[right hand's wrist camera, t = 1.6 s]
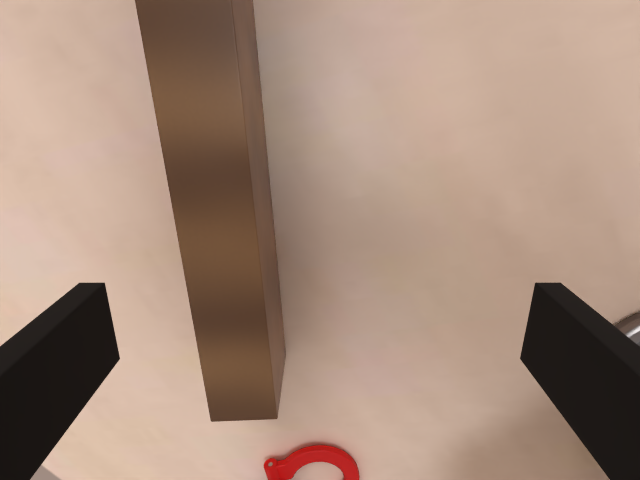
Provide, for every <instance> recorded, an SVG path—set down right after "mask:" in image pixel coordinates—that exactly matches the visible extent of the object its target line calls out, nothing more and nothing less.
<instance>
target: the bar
mask: <svg viewBox="0 0 640 480" xmlns="http://www.w3.org/2000/svg"><path fill="white" fill-rule="evenodd" d="M135 3H136V8H137V14H138V19H139V25H140V30H141V36H142V41H143V47H144V52H145V58H146V64H147V69H148V75H149V80H150V86H151V91H152V97H153V102H154V108H155V113H156V119H157V125H158V130H159V136H160V141H161V147H162V152H163V158H164V163H165V169H166V175H167V180H168V186H169V191H170V197H171V202H172V208H173V213H174V219H175V224H176V230H177V236H178V241H179V247H180V252H181V258H182V263H183V269H184V274H185V280H186V285H187V291H188V297H189V302H190V308H191V313H192V319H193V324H194V330H195V335H196V341H197V346H198V352H199V358H200V363H201V369H202V374H203V380H204V385H205V391H206V396H207V402H208V407H209V413H210V419H211V421H212V422H214V421H239V420H264V419H277V418H278V410H279V403H280V395H281V387H282V380H283V372H284V364H285V357H286V350H285V340H284V329H283V319H282V308H281V297H280V287H279V276H278V265H277V255H276V244H275V234H274V223H273V212H272V202H271V191H270V180H269V170H268V159H267V149H266V138H265V127H264V117H263V106H262V95H261V85H260V74H259V64H258V53H257V42H256V32H255V21H254V10H253V0H135Z"/></svg>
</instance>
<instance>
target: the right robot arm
mask: <svg viewBox="0 0 640 480" xmlns="http://www.w3.org/2000/svg"><path fill="white" fill-rule="evenodd" d="M119 359H120V357H119V352H118V347H117V342H116V337H115V332H114V327H113V322H112V317H111V312H110V307H109V302H108V297H107V292H106V287H105V283H79V284H77V285H76V286H75V287H74V288H72V289H71V290H70V291H69V292H67V293H66V294H65V295H64V296H63V297H61V298H60V299H59V300H58V301H56V302H55V303H54V304H53V305H51V306H50V307H49V308H48V309H46V310H45V311H44V312H43V313H41V314H40V315H39V316H38V317H36V318H35V319H34V320H33V321H31V322H30V323H29V324H28V325H26V326H25V327H24V328H23V329H21V330H20V331H19V332H18V333H16V334H15V335H14V336H13V337H11V338H10V339H9V340H8V341H6V342H5V343H4V344H3V345H1V346H0V480H30V479H31V477H32V476H33V475H34V473H35V472H36V471H37V469H38V468H39V467H40V465H41V464H42V463H43V461H44V460H45V459H46V457H47V456H48V455H49V453H50V452H51V451H52V449H53V448H54V447H55V445H56V444H57V443H58V441H59V440H60V439H61V437H62V436H63V435H64V433H65V432H66V430H67V429H68V428H69V426H70V425H71V424H72V422H73V421H74V420H75V418H76V417H77V416H78V414H79V413H80V412H81V410H82V409H83V408H84V406H85V405H86V404H87V402H88V401H89V400H90V398H91V397H92V396H93V394H94V393H95V391H96V390H97V389H98V387H99V386H100V385H101V383H102V382H103V381H104V379H105V378H106V377H107V375H108V374H109V373H110V371H111V370H112V369H113V367H114V366H115V365H116V363H117V362H118V361H119ZM520 359H521V361H522V362H523V363H524V365H525V366H526V367H527V369H528V370H529V371H530V373H531V374H532V375H533V377H534V378H535V379H536V381H537V382H538V383H539V385H540V386H541V387H542V389H543V390H544V391H545V393H546V394H547V396H548V397H549V398H550V400H551V401H552V402H553V404H554V405H555V406H556V408H557V409H558V410H559V412H560V413H561V414H562V416H563V417H564V418H565V420H566V421H567V422H568V424H569V425H570V426H571V428H572V429H573V430H574V432H575V433H576V435H577V436H578V437H579V439H580V440H581V441H582V443H583V444H584V445H585V447H586V448H587V449H588V451H589V452H590V453H591V455H592V456H593V457H594V459H595V460H596V461H597V463H598V464H599V465H600V467H601V468H602V469H603V471H604V472H605V473H606V475H607V476H608V478H609V479H610V480H640V312H639V313H636V314H634V315H632V316H630V317H628V318H626V319H625V320H623V321H621V322H619V323H618V324H617V325H615V326H614V325H612V324H611V323H610V322H609V321H607V320H606V319H605V318H604V317H602V316H601V315H600V314H599V313H597V312H596V311H595V310H594V309H592V308H591V307H590V306H589V305H587V304H586V303H585V302H584V301H582V300H581V299H580V298H579V297H577V296H576V295H575V294H574V293H572V292H571V291H570V290H569V289H568V288H566V287H565V286H564V285H563V284H561V283H535V287H534V292H533V297H532V302H531V307H530V312H529V317H528V322H527V327H526V332H525V337H524V342H523V347H522V352H521V357H520Z"/></svg>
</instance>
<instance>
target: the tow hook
mask: <svg viewBox="0 0 640 480" xmlns="http://www.w3.org/2000/svg"><path fill="white" fill-rule="evenodd" d="M312 462H328V463H331V464H333V465H336V466H337V467H338V468H340V469H341V471H342V472H343V474H344V480H359V471H358V468H357V464H356V463H355V461H354V460H353V458H352V457H351V456H350V455H348V454H347V453H346V452H345V451H343V450H340V449H338V448H335V447H331V446H325V445H317V446H309V447H305V448H302V449H300V450H298V451H295V452H293V453H292V454H291V455H290V456H288V457H287V458H286V459H285V460H280V461H277V460H276V459H274V458H270V459H268V460H267V461H266V462H265V463H264V469H265V472H266V475H267V478H268V480H287V479H291V478H293V476H294V474H295V473H296V471H297V470H298V469H299V468H301V467H302V466H304V465H306V464H308V463H312Z"/></svg>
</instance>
